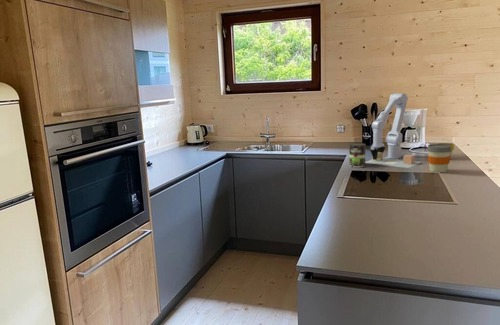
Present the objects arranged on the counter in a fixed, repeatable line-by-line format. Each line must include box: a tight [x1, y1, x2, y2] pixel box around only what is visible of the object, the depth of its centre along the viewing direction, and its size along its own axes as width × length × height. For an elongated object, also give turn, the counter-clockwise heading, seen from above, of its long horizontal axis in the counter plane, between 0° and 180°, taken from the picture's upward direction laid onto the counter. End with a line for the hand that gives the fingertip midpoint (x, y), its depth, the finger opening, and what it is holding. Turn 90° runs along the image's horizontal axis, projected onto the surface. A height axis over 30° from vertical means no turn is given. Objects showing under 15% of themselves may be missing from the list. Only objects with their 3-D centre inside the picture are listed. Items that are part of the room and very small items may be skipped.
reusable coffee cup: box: [427, 143, 452, 173], centre depth 221 cm, size 13×13×15 cm
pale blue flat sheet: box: [365, 157, 422, 169], centre depth 249 cm, size 20×30×1 cm, turn 44°
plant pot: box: [438, 142, 455, 156], centre depth 252 cm, size 10×10×10 cm
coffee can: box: [348, 142, 367, 168], centre depth 246 cm, size 10×10×14 cm
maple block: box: [371, 152, 384, 161], centre depth 257 cm, size 5×5×5 cm
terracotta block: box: [402, 154, 416, 164], centre depth 243 cm, size 5×5×5 cm
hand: (377, 158), depth 257 cm, fingers open, 7 cm apart
